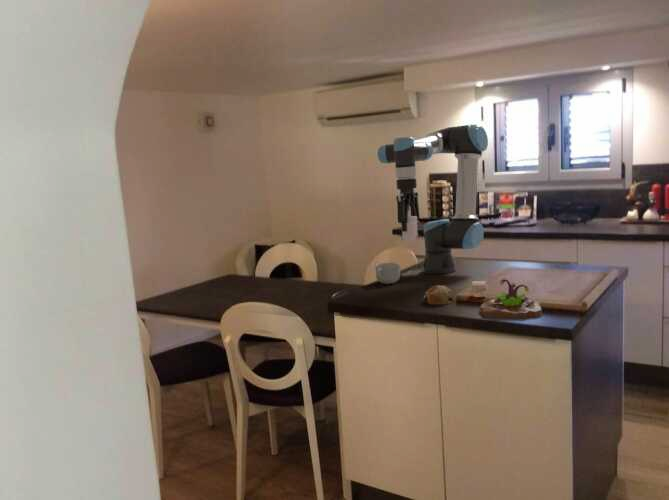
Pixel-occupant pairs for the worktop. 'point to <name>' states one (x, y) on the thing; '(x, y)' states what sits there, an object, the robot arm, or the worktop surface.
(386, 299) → the worktop surface
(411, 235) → the smoothie
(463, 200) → the robot arm
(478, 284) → the birch block
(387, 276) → the teacup
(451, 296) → the bread roll
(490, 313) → the plant
